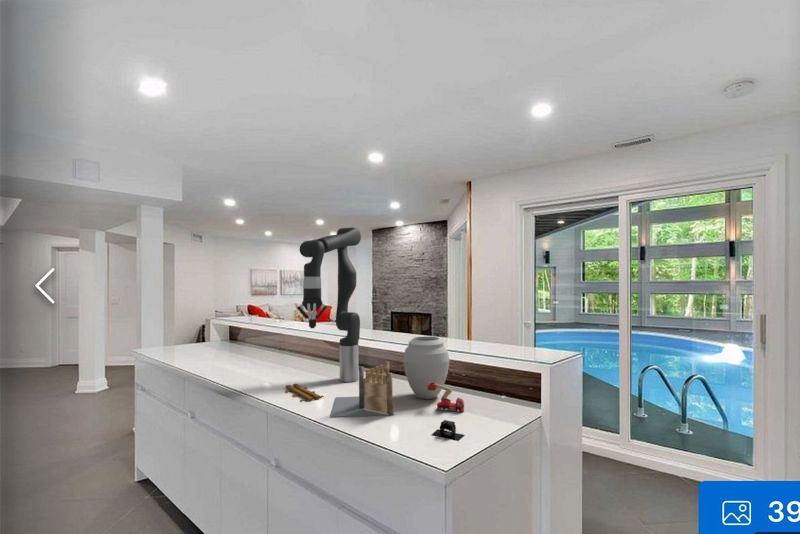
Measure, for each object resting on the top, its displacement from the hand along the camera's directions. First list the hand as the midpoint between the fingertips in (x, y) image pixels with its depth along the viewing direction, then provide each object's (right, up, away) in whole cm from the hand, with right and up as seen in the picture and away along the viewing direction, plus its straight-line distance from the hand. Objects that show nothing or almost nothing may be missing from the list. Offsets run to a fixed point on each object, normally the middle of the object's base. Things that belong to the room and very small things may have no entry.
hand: (312, 328), depth 168 cm
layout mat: (+23, -28, -14) cm, 39 cm away
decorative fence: (-5, -30, +4) cm, 31 cm away
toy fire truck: (+55, -28, -19) cm, 64 cm away
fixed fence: (+28, -28, -20) cm, 45 cm away
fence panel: (+28, -28, -9) cm, 41 cm away
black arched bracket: (+53, -28, -43) cm, 73 cm away
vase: (+49, -29, -2) cm, 56 cm away
